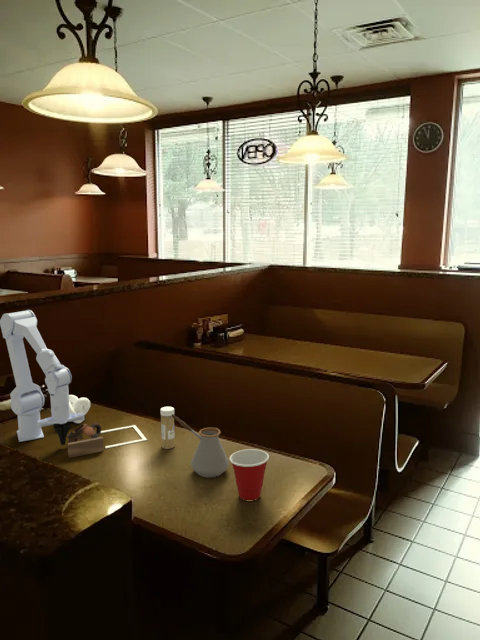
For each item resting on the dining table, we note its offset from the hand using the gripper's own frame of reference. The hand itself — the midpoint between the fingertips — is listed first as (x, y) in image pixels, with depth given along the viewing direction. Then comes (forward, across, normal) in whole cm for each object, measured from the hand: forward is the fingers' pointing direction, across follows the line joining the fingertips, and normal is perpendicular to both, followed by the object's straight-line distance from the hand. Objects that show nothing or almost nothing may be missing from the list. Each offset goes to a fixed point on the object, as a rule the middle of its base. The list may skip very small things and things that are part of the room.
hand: (62, 443), depth 172 cm
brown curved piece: (+2, +8, -1) cm, 8 cm away
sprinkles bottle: (+2, +32, -15) cm, 35 cm away
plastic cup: (+2, +41, -55) cm, 68 cm away
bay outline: (+1, +19, 0) cm, 19 cm away
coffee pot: (+2, +35, -33) cm, 48 cm away
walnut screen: (+1, +6, -8) cm, 10 cm away
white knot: (+2, +8, +23) cm, 25 cm away
